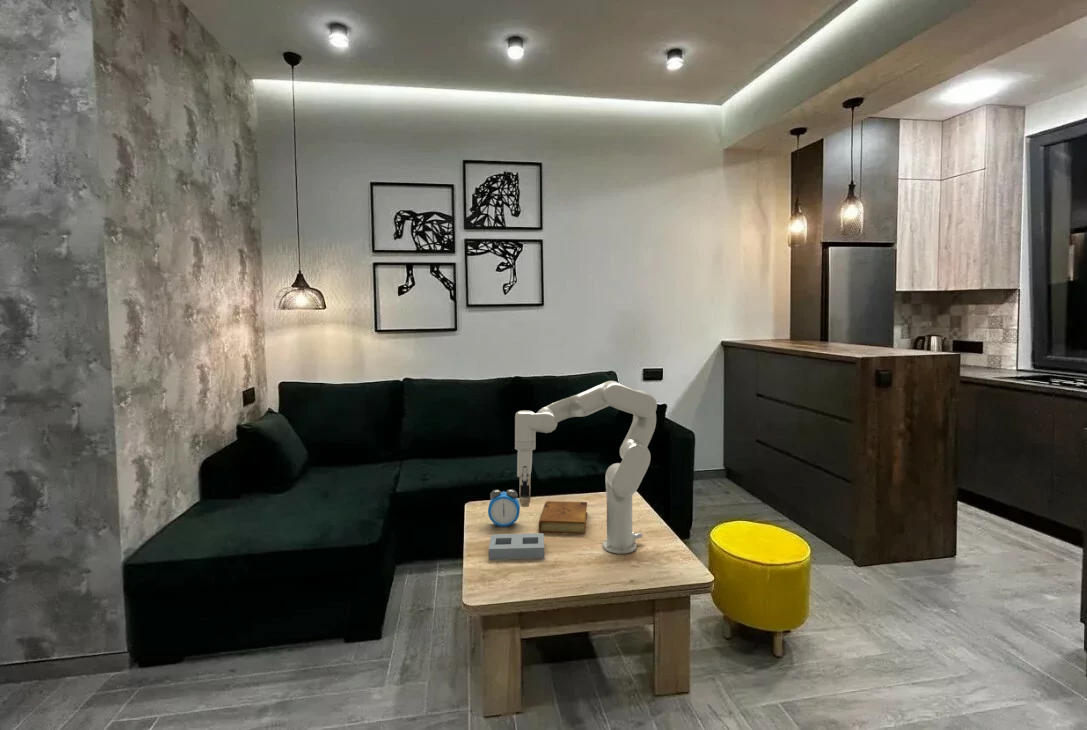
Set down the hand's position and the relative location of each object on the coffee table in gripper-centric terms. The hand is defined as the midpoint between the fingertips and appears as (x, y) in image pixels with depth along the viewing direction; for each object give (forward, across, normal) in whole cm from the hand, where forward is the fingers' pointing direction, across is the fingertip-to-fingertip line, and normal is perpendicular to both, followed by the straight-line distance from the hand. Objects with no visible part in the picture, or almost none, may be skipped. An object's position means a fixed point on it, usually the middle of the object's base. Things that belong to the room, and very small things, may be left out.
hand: (524, 493), depth 200 cm
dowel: (+5, 0, 0) cm, 5 cm away
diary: (+22, -27, +16) cm, 39 cm away
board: (+22, 0, -3) cm, 22 cm away
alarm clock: (+23, -27, -9) cm, 36 cm away
